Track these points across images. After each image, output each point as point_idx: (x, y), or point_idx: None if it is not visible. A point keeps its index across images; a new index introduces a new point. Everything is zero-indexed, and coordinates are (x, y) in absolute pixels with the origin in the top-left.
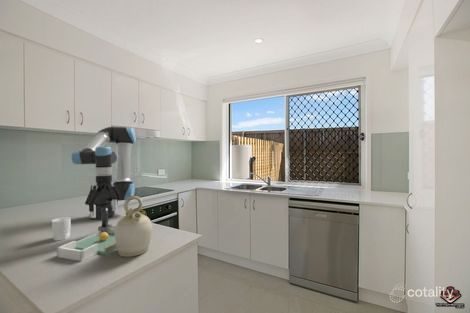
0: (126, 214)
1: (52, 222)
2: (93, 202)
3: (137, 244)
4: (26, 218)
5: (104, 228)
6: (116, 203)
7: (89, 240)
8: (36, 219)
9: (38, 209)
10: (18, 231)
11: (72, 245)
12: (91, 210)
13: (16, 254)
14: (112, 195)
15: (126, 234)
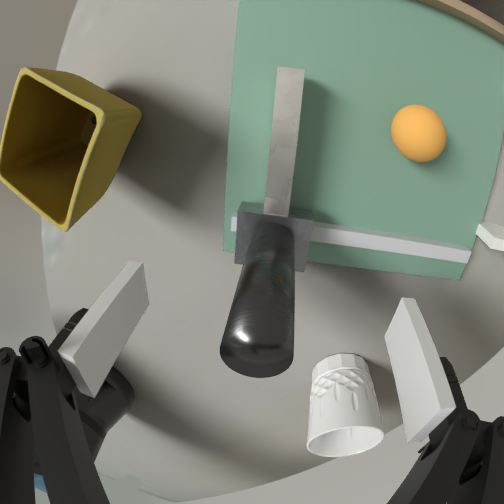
0: (82, 205)
1: (378, 440)
2: (469, 440)
3: None
4: (205, 482)
5: (308, 217)
6: (93, 316)
7: (411, 218)
8: (202, 473)
9: (155, 482)
10: (286, 465)
11: (498, 233)
12: (452, 367)
13: (459, 371)
14: (78, 444)
15: None
